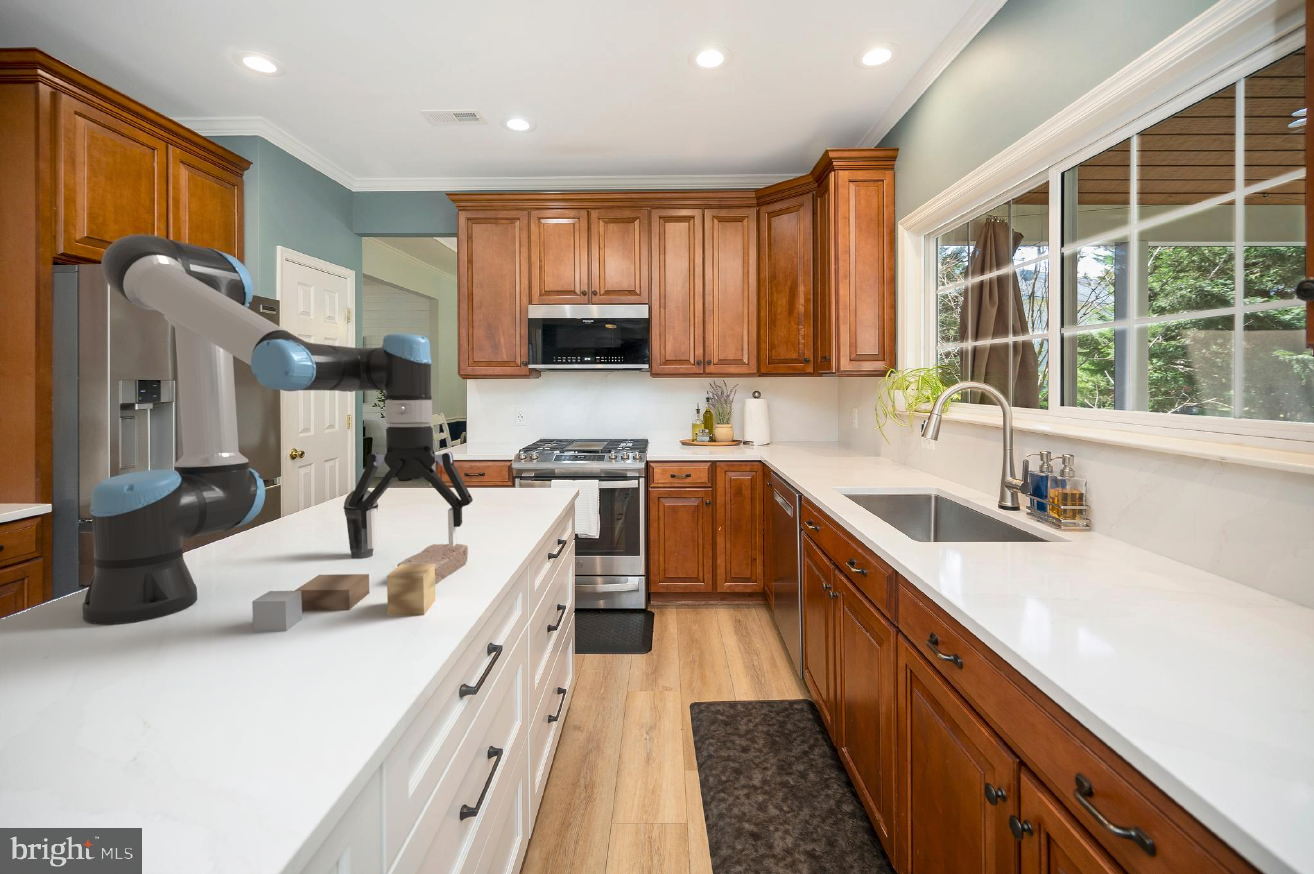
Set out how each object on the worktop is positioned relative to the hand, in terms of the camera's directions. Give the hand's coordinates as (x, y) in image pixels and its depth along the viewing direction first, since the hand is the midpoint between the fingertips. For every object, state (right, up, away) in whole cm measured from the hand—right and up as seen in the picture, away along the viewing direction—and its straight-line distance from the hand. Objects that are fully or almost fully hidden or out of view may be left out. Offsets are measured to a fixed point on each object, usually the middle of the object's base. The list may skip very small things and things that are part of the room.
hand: (413, 546), depth 106 cm
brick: (-4, -10, +22) cm, 24 cm away
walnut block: (-16, -11, +4) cm, 20 cm away
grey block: (-19, -12, -8) cm, 23 cm away
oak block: (-1, -11, +1) cm, 11 cm away
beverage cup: (-25, -9, +34) cm, 43 cm away
